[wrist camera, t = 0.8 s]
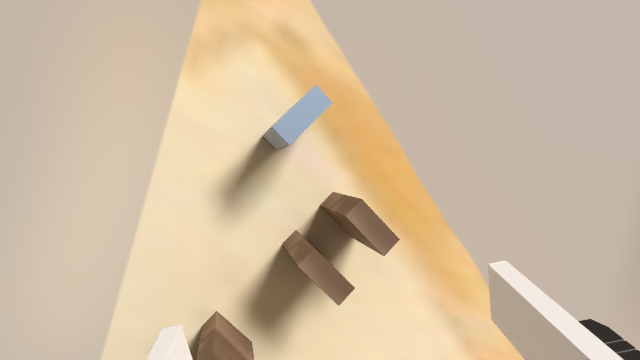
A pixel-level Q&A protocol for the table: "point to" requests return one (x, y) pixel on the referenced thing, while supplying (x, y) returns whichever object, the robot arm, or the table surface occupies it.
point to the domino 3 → (318, 268)
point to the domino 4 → (360, 222)
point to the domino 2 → (298, 118)
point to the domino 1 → (223, 341)
